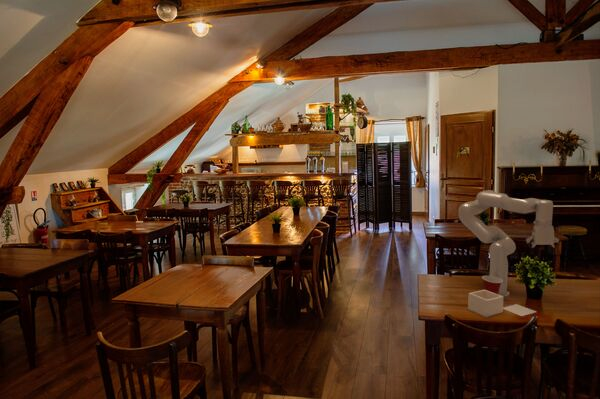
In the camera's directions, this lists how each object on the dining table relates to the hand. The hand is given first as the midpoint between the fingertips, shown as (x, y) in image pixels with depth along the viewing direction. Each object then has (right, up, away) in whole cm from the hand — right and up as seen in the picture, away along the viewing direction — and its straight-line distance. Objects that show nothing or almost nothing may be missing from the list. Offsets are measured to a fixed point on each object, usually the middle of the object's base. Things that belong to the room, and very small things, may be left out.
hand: (541, 254), depth 231 cm
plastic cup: (-21, -27, +13) cm, 37 cm away
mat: (-14, -29, -4) cm, 33 cm away
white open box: (-32, -30, -4) cm, 44 cm away
